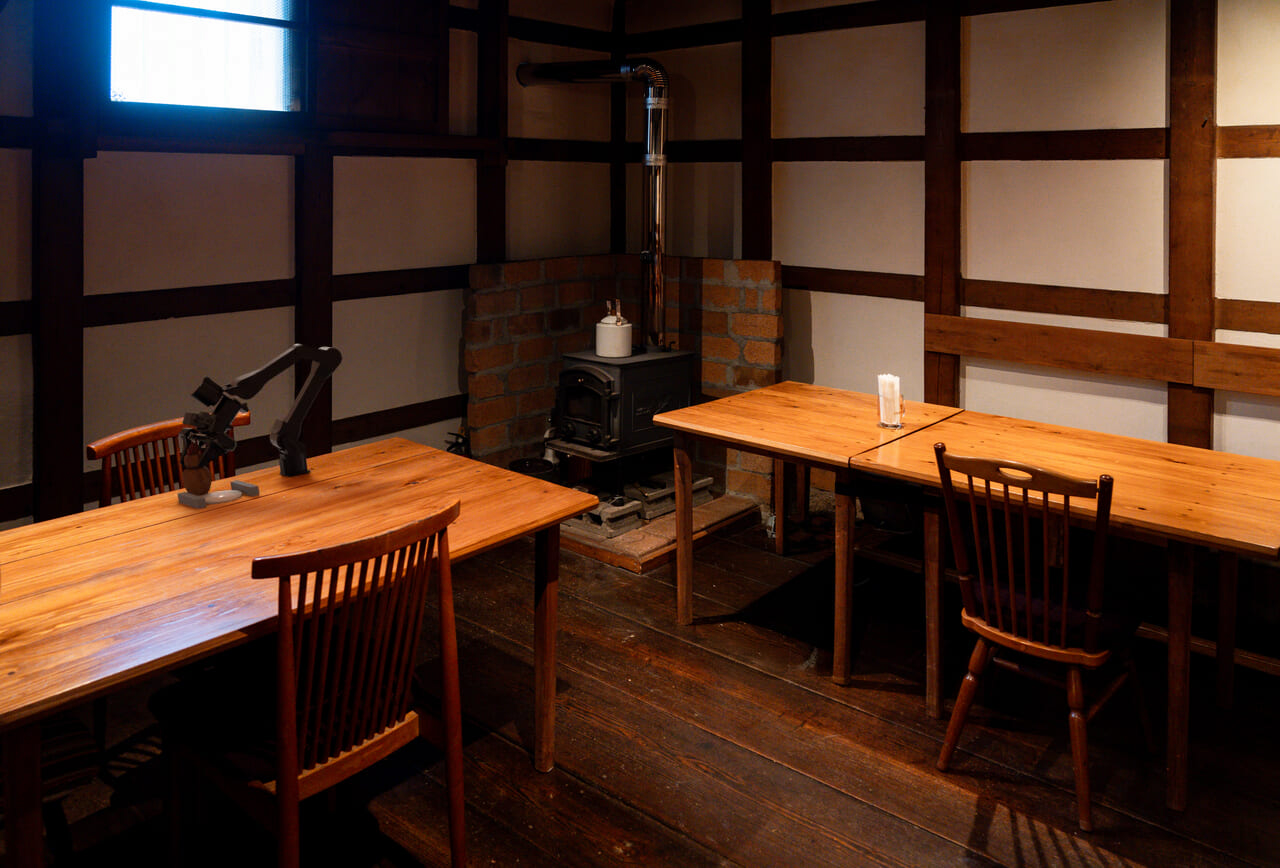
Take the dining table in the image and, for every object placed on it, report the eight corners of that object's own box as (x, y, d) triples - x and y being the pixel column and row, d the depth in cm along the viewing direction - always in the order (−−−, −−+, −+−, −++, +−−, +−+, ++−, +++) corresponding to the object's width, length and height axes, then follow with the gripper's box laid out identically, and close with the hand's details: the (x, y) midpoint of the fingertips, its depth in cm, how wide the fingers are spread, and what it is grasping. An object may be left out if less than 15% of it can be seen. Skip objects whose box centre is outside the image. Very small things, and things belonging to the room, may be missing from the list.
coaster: (230, 491, 263) (230, 488, 263) (249, 496, 256) (248, 493, 255) (189, 500, 255) (188, 497, 255) (207, 506, 248) (207, 503, 248)
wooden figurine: (206, 490, 266) (197, 436, 263) (216, 492, 262) (208, 437, 259) (181, 496, 261) (173, 441, 258) (192, 498, 257) (183, 442, 254)
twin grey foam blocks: (238, 488, 265) (237, 480, 265) (259, 494, 257) (258, 485, 257) (178, 502, 254) (177, 493, 253) (198, 509, 246) (197, 499, 245)
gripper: (180, 398, 265) (146, 446, 259) (219, 401, 254) (185, 451, 248) (211, 421, 273) (179, 468, 266) (250, 425, 262) (218, 475, 256)
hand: (189, 465), depth 259 cm, fingers open, 8 cm apart
